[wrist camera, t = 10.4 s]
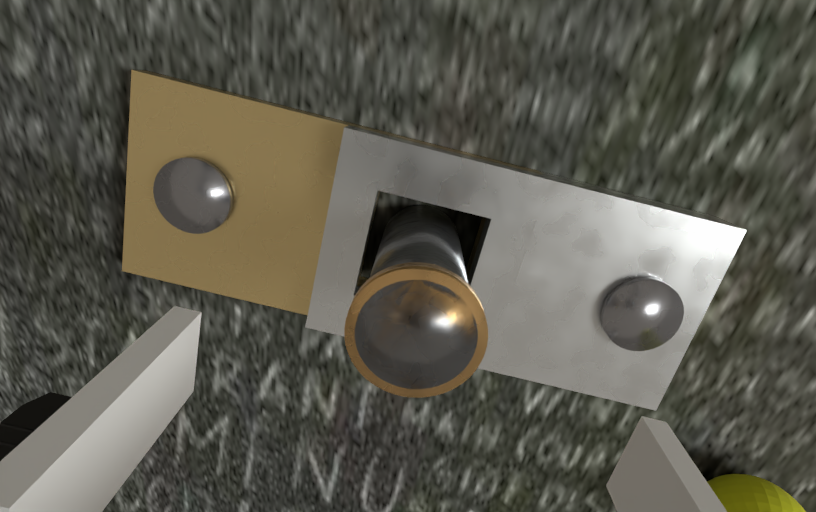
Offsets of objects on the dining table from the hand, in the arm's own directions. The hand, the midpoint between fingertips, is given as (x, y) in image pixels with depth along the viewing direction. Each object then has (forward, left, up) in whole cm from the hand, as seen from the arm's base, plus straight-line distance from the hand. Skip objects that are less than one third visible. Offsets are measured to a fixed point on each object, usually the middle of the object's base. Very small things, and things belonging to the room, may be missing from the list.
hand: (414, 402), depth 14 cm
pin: (0, 0, -17) cm, 17 cm away
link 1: (0, -6, -17) cm, 18 cm away
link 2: (0, +6, -17) cm, 18 cm away
